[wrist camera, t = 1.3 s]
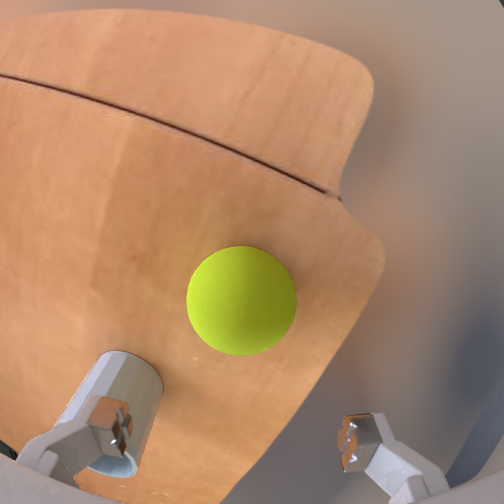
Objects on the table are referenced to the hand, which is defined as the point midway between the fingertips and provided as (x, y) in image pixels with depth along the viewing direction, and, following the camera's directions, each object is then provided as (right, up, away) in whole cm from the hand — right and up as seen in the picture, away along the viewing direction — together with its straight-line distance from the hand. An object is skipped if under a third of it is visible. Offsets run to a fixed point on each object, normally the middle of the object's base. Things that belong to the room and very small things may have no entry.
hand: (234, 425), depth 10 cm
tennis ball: (0, +3, +9) cm, 9 cm away
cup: (-11, -5, +15) cm, 19 cm away
